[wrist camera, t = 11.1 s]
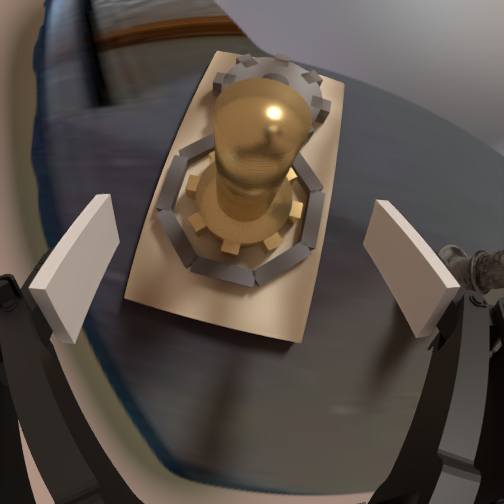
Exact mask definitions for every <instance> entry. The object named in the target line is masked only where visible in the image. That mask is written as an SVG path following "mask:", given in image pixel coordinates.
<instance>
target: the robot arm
mask: <svg viewBox="0 0 504 504" xmlns="http://www.w3.org/2000/svg"><path fill="white" fill-rule="evenodd" d="M119 242H120V241H119V237H118V232H117V227H116V223H115V218H114V212H113V207H112V201H111V196H110V194H102V195H96V196H95V197H94V199H93V200H92V201H91V202H90V203H89V204H88V206H87V207H86V208H85V209H84V210H83V212H82V213H81V214H80V215H79V217H78V218H77V219H76V220H75V222H74V223H73V224H72V226H71V227H70V228H69V229H68V231H67V232H66V233H65V235H64V236H63V237H62V239H61V240H60V241H59V243H58V244H57V246H56V247H52V248H51V249H50V250H48V251H47V252H46V253H45V254H44V255H43V256H42V258H41V259H40V261H39V262H38V264H37V265H36V266H35V268H34V271H32V272H31V274H30V275H29V277H28V278H27V280H26V281H25V283H24V285H23V286H22V288H21V289H20V288H19V286H18V284H17V282H16V280H15V278H14V276H13V275H11V274H4V275H1V276H0V504H36V502H35V499H34V496H33V492H32V489H31V485H30V481H29V478H28V473H27V469H26V465H25V460H24V455H23V450H22V444H21V438H20V431H19V424H18V420H19V422H20V426H21V428H22V431H23V434H24V437H25V439H26V442H27V445H28V447H29V449H30V452H31V455H32V457H33V459H34V461H35V464H36V466H37V468H38V470H39V472H40V474H41V477H42V479H43V481H44V483H45V485H46V487H47V488H48V490H49V492H50V494H51V496H52V498H53V500H54V502H55V504H144V503H143V502H142V501H141V500H139V499H138V498H137V497H136V495H135V494H134V493H133V492H132V491H131V489H130V488H129V486H128V485H127V484H126V483H125V481H124V480H123V478H122V477H121V475H120V474H119V473H118V471H117V470H116V468H115V467H114V465H113V464H112V462H111V461H110V459H109V458H108V456H107V455H106V453H105V452H104V450H103V448H102V447H101V445H100V443H99V442H98V440H97V438H96V437H95V435H94V433H93V431H92V430H91V428H90V426H89V424H88V422H87V420H86V419H85V417H84V415H83V413H82V411H81V409H80V407H79V405H78V403H77V401H76V399H75V397H74V395H73V393H72V390H71V388H70V386H69V384H68V381H67V379H66V377H65V375H64V372H63V370H62V367H61V365H60V362H59V360H58V357H57V355H56V352H55V349H54V346H53V344H52V343H51V341H50V337H51V335H52V332H53V333H54V335H55V336H56V338H57V339H58V341H59V342H64V343H70V344H75V342H76V340H77V337H78V334H79V332H80V329H81V326H82V324H83V321H84V319H85V316H86V314H87V311H88V309H89V307H90V304H91V302H92V299H93V297H94V295H95V293H96V290H97V288H98V286H99V284H100V281H101V279H102V277H103V275H104V273H105V271H106V268H107V266H108V264H109V262H110V260H111V258H112V256H113V254H114V252H115V250H116V248H117V246H118V244H119ZM363 245H364V247H365V248H366V250H367V251H368V253H369V255H370V256H371V258H372V260H373V261H374V263H375V265H376V266H377V268H378V270H379V271H380V273H381V275H382V276H383V278H384V280H385V281H386V283H387V285H388V287H389V288H390V290H391V292H392V294H393V296H394V297H395V299H396V301H397V303H398V305H399V306H400V308H401V310H402V312H403V314H404V316H405V318H406V320H407V322H408V323H409V325H410V327H411V329H412V331H413V333H414V335H415V337H416V338H421V337H426V336H430V334H431V333H432V331H433V330H434V328H435V327H436V326H437V328H438V330H439V331H440V332H439V333H438V335H437V336H436V337H435V339H434V340H433V341H432V343H431V344H430V346H429V347H428V349H427V350H430V349H431V348H432V347H433V346H434V348H433V351H432V357H431V361H430V365H429V369H428V373H427V376H426V380H425V383H424V387H423V390H422V393H421V397H420V400H419V403H418V406H417V409H416V412H415V415H414V418H413V420H412V423H411V426H410V429H409V431H408V434H407V436H406V439H405V441H404V444H403V446H402V448H401V451H400V453H399V455H398V458H397V460H396V462H395V464H394V466H393V469H392V471H391V473H390V475H389V476H388V478H387V479H386V480H385V482H384V483H382V484H381V485H380V486H379V487H378V489H377V490H376V491H375V493H374V494H373V496H372V497H371V499H370V501H369V502H368V504H504V298H503V297H502V298H500V299H499V300H498V302H497V303H496V305H495V306H493V305H489V304H488V303H487V301H486V300H485V298H484V297H483V296H482V295H481V294H479V293H478V292H476V291H473V290H467V291H466V289H465V288H464V286H463V285H462V284H461V282H460V281H459V280H458V278H457V277H456V276H455V274H454V273H453V272H452V271H451V269H450V268H449V267H448V265H446V263H445V262H444V260H443V259H442V258H441V257H440V256H439V255H438V254H437V253H435V252H434V251H433V250H432V249H431V248H430V247H429V246H428V244H427V243H426V242H425V241H424V240H423V239H422V237H421V236H420V235H419V234H418V233H417V232H416V231H415V229H414V228H413V227H412V226H411V225H410V224H409V223H408V222H407V220H406V219H405V218H404V217H403V216H402V215H401V214H400V213H399V212H398V211H397V210H396V209H395V208H394V206H393V205H392V204H391V203H390V202H389V201H384V200H376V202H375V205H374V209H373V213H372V216H371V220H370V223H369V226H368V230H367V233H366V236H365V240H364V243H363ZM500 340H501V343H502V346H501V348H500V349H499V350H498V351H497V352H495V346H496V345H497V344H498V343H499V342H500ZM360 504H366V502H363V503H360Z"/></svg>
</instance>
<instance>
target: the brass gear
mask: <svg viewBox="0 0 504 504" xmlns="http://www.w3.org/2000/svg"><path fill="white" fill-rule="evenodd" d="M213 113H214V146H215V151H213V152H211V153H209V164H210V165H209V166H208V167H207V168H206V169H205V171H204V172H203V173H202V175H201V177H200V176H195V175H191V174H190V176H189V178H188V181H187V184H186V187H185V191H186V194H187V197H189V198H193V199H196V205H197V209H198V212H197V213H195V214H193V215H191V216H190V217H188V219H189V221H190V224H191V226H192V227H193V229H194V231H195V233H196V234H197V236H198V237H199V236H201V235H203V234H204V233H206V232H209V233H210V235H211V236H213V237H214V238H215V239H216V240H218V241H220V242H221V243H223V245H222V248H221V255H225V256H229V257H233V258H237V256H238V253H239V249H240V248H249V247H254V246H258V245H260V246H261V248H262V250H263V251H264V253H265V254H267V253H268V252H270V251H272V250H273V249H275V248H277V247H278V246H280V245H281V244H282V243H283V240H282V239H281V237H280V236H279V234H278V231H279V230H280V228H281V227H282V226H283V225H284V224H285V222H287V223H291V224H295V223H296V222H297V221H298V220H299V219H300V217H301V212H302V207H303V203H300V202H297V201H293V196H292V189H291V185H292V184H293V183H294V181H295V179H296V178H297V175H296V174H295V172H294V171H293V169H292V168H291V166H292V164H293V162H294V161H295V159H296V157H297V155H298V153H299V151H300V149H301V147H302V145H303V144H304V142H305V140H306V138H307V136H308V134H309V132H310V129H311V126H312V115H311V111H310V109H309V106H308V104H307V103H306V101H305V100H304V98H303V97H302V96H301V95H300V94H299V93H298V92H297V91H295V90H294V89H293V88H291V87H290V86H288V85H286V84H284V83H281V82H279V81H276V80H272V79H266V78H249V79H244V80H241V81H238V82H235V83H233V84H231V85H230V86H228V87H227V88H226V89H224V90H223V91H222V92H221V93H220V95H219V96H218V98H217V100H216V102H215V105H214V111H213Z"/></svg>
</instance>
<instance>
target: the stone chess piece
mask: <svg viewBox="0 0 504 504" xmlns="http://www.w3.org/2000/svg"><path fill="white" fill-rule="evenodd" d="M437 254H438V255H439V256H440V257H441V258H442V259H443V260H444V262H445V263H446V265H448V267H449V268H450V269H451V271H452V272H453V273H454V274H455V276H456V277H457V278H458V280H459V281H460V282H461V284H462V285H463V286H464V288H465V289H466V291H467V290H473V291H477V292H478V293H479V294H483V295H484V294H487V293H488V292H489V291H490V289H499V288H504V250H501V251H497V252H492V253H488V254H487V253H486V252H485V251H483V250H480V251H477V252H476V253H475V254H474V256H470V257H467V255H466V254H465V252H464V251H463V250H462V249H461V248H459V247H458V246H455V245H447V246H445V247H443V248H442V249H441V250H440V251H439V252H438V253H437Z"/></svg>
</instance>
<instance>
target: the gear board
mask: <svg viewBox="0 0 504 504" xmlns="http://www.w3.org/2000/svg"><path fill="white" fill-rule="evenodd" d="M289 61H290V57H289V56H286V55H282V54H276V57H275V58H270V57H261V58H254V57H252V56H251V55H250V54H246V55H239V54H234V53H228V52H222V51H217V52H216V54H215V56H214V58H213V59H212V61H211V63H210V65H209V67H208V69H207V71H206V73H205V75H204V77H203V79H202V81H201V83H200V85H199V87H198V89H197V91H196V93H195V95H194V97H193V100H192V102H191V104H190V106H189V108H188V110H187V113H186V115H185V117H184V119H183V122H182V124H181V126H180V129H179V131H178V133H177V136H176V138H175V141H174V143H173V145H172V148H171V150H170V153H169V156H168V158H167V161H166V163H165V166H164V168H163V171H162V174H161V177H160V179H159V182H158V185H157V188H156V190H155V193H154V196H153V199H152V202H151V205H150V208H149V211H148V214H147V217H146V220H145V223H144V227H143V230H142V233H141V236H140V240H139V243H138V247H137V250H136V254H135V257H134V261H133V265H132V268H131V272H130V276H129V280H128V284H127V288H126V292H125V296H124V298H125V299H129V300H132V301H135V302H138V303H141V304H144V305H148V306H151V307H154V308H158V309H161V310H164V311H168V312H171V313H175V314H178V315H182V316H185V317H189V318H193V319H197V320H200V321H204V322H208V323H212V324H216V325H220V326H224V327H228V328H232V329H236V330H241V331H245V332H249V333H254V334H258V335H263V336H267V337H272V338H277V339H282V340H287V341H292V342H297V343H301V341H302V337H303V333H304V329H305V325H306V321H307V316H308V312H309V308H310V303H311V299H312V294H313V290H314V285H315V280H316V276H317V271H318V266H319V261H320V256H321V251H322V245H323V240H324V235H325V229H326V223H327V218H328V212H329V206H330V200H331V193H332V187H333V180H334V173H335V166H336V159H337V151H338V143H339V135H340V126H341V116H342V106H343V96H344V83H341V82H338V81H336V80H333V79H330V78H327V77H324V76H321V75H318V74H317V73H316V72H315V71H310V72H308V71H305V70H304V69H303V68H301V67H299V66H297V65H296V64H294V63H291V62H289ZM249 78H266V79H272V80H276V81H279V82H281V83H284V84H286V85H288V86H290V87H291V88H293V89H294V90H295V91H297V92H298V93H299V94H300V95H301V96H302V97H303V98H304V100H305V101H306V103H307V104H308V106H309V109H310V111H311V115H312V126H311V129H310V132H309V134H308V136H307V138H306V140H305V142H304V144H303V145H302V147H301V149H300V151H299V153H298V155H297V157H296V159H295V161H294V162H293V164H292V166H291V168H292V169H293V171H294V172H295V174H296V175H297V178H296V179H295V181H294V183H293V184H292V185H291V189H292V196H293V201H297V202H300V203H303V207H302V212H301V217H300V219H299V220H298V221H297V222H296V223H295V224H291V223H287V222H285V224H284V225H283V226H282V227H281V228H280V230H279V231H278V234H279V236H280V237H281V239H282V240H283V243H282V244H281V245H280V246H278V247H277V248H275V249H273V250H272V251H270V252H268V253H267V254H265V253H264V251H263V250H262V248H261V246H260V245H258V246H254V247H249V248H240V249H239V253H238V256H237V258H233V257H229V256H225V255H221V248H222V245H223V243H221V242H220V241H218V240H216V239H215V238H214V237H213V236H211V235H210V233H209V232H206V233H204V234H203V235H201V236H199V237H198V236H197V234H196V233H195V231H194V229H193V227H192V226H191V224H190V221H189V219H188V217H190V216H191V215H193V214H195V213H197V212H198V209H197V205H196V199H193V198H189V197H187V194H186V191H185V187H186V184H187V181H188V178H189V176H190V174H191V175H195V176H200V177H201V175H202V173H203V172H204V171H205V169H206V168H207V167H208V166H209V165H210V164H209V153H211V152H213V151H215V146H214V113H213V111H214V105H215V102H216V100H217V98H218V96H219V95H220V93H221V92H222V91H223V90H224V89H226V88H227V87H228V86H230V85H231V84H233V83H235V82H238V81H241V80H244V79H249Z"/></svg>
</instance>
